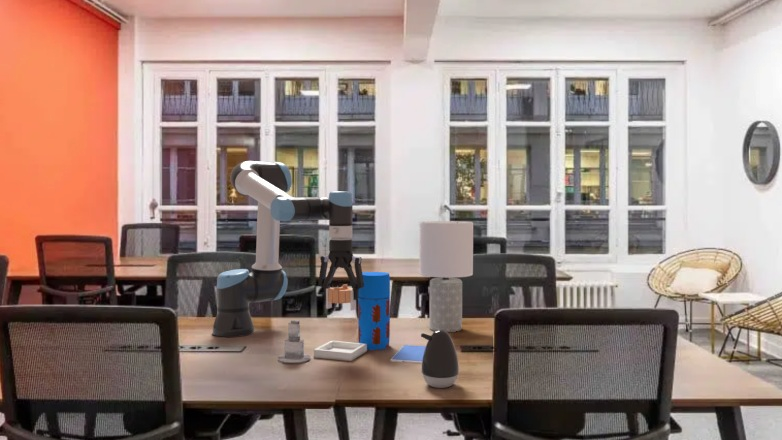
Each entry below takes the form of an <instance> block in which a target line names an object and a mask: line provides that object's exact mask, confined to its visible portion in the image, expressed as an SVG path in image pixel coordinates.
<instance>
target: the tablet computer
mask: <svg viewBox="0 0 782 440" xmlns="http://www.w3.org/2000/svg"><path fill="white" fill-rule="evenodd" d="M425 347H426V345H414V344H413V345H411V344H405V345H403V346H401V348H400V349H399V350H398V351H397V352H396V353H395V354H394V355H393V356H392V357H391V358H390V361H389V362H392V361H395V363H405V362H407V363H408V364H420V365H422V360H423V355H424V351H425ZM407 363H406V364H407Z"/></svg>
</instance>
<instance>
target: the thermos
mask: <svg viewBox="0 0 782 440" xmlns="http://www.w3.org/2000/svg"><path fill="white" fill-rule="evenodd" d="M362 275H363V281H364V287H362V288H360V289H359V298H358V299H357V301H358V304H357V306H358V307H357V308H358V309H357V311H358V312H357V314H358V315H357V316H358V318H357V320H358V321H357V322H358V323H357V325H358V326H357V329H358V331H357V338H358V343H363V344H367V351H368V350H369V351H377V350H385V349H388V348H389V347H390V339H391V338H390V337H391V336H390V335H391V332H390V331H391V330H390V327H391V324H390V323H391V318H390V317H391V312H390V310H391V309H390V307H391V303H390V302H391V290H390V289H391V288H390V287H391V277H390V273H389V272H383V271H364V272H363V271H362Z"/></svg>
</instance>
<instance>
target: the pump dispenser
mask: <svg viewBox="0 0 782 440" xmlns="http://www.w3.org/2000/svg"><path fill="white" fill-rule="evenodd" d="M420 336H421V338H423V339H425V340H427V342H426V345H425V346H426V347H425V351H424V355H423V360H422V364H421V374H422V377H423V379H424V381H425V383H426V384H427V385H429V386H430V387H433V388H435V389H446V388H448V387H451V386H452V385H454V383H455V382H456V381H457V378H458V375H459V373H460V367H459V366H460V365H459V359H458V354H457V350H456V346H455V344H454V342H453V339H452V337H451V335H450V334H449V332H446V331H444V330H437V331H433V332H432V334H431V335H430V334H427V333H423V332H422V333H421V334H420Z"/></svg>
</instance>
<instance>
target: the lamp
mask: <svg viewBox="0 0 782 440" xmlns="http://www.w3.org/2000/svg"><path fill="white" fill-rule="evenodd" d="M418 272H419V275H420V276H424V277H430V278H431V279H430V280H429V330H431V331H433V332H435V331H437V330H444V331H446V332H447V333H455V332H456V331H457V332H460V331H461V330H462V328H463V280H461V279H460V278H467V277H471V276H473V275H474V222H472V221H462V220H461V221H459V220H457V221H456V220H454V221H451V220H450V221H448V220H447V221H446V220H444V221H443V220H435V221H434V220H431V221H429V220H427V221H420V222H419V271H418Z"/></svg>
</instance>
